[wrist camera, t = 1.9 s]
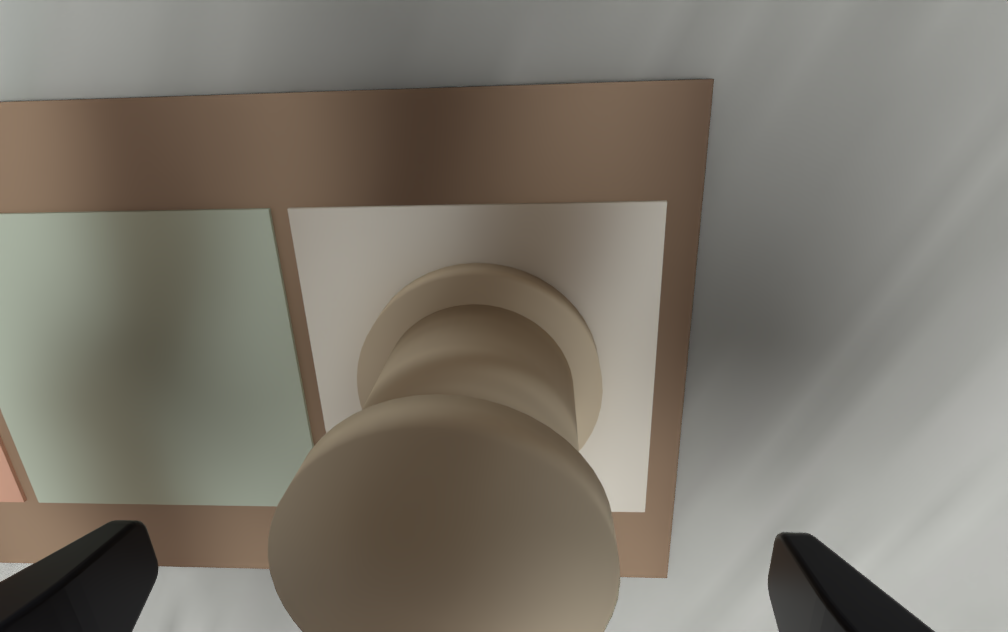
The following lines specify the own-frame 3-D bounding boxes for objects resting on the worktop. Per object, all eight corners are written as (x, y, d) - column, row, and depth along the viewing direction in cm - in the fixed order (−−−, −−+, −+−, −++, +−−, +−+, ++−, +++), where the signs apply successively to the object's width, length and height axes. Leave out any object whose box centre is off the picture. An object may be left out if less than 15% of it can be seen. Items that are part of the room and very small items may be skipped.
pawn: (603, 261, 12) (646, 414, 7) (596, 471, 14) (626, 712, 9) (352, 264, 13) (215, 413, 7) (380, 468, 15) (288, 699, 10)
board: (710, 79, 11) (715, 79, 11) (665, 571, 16) (667, 580, 16) (-489, 117, 13) (-511, 119, 13) (-213, 552, 18) (-225, 560, 17)
